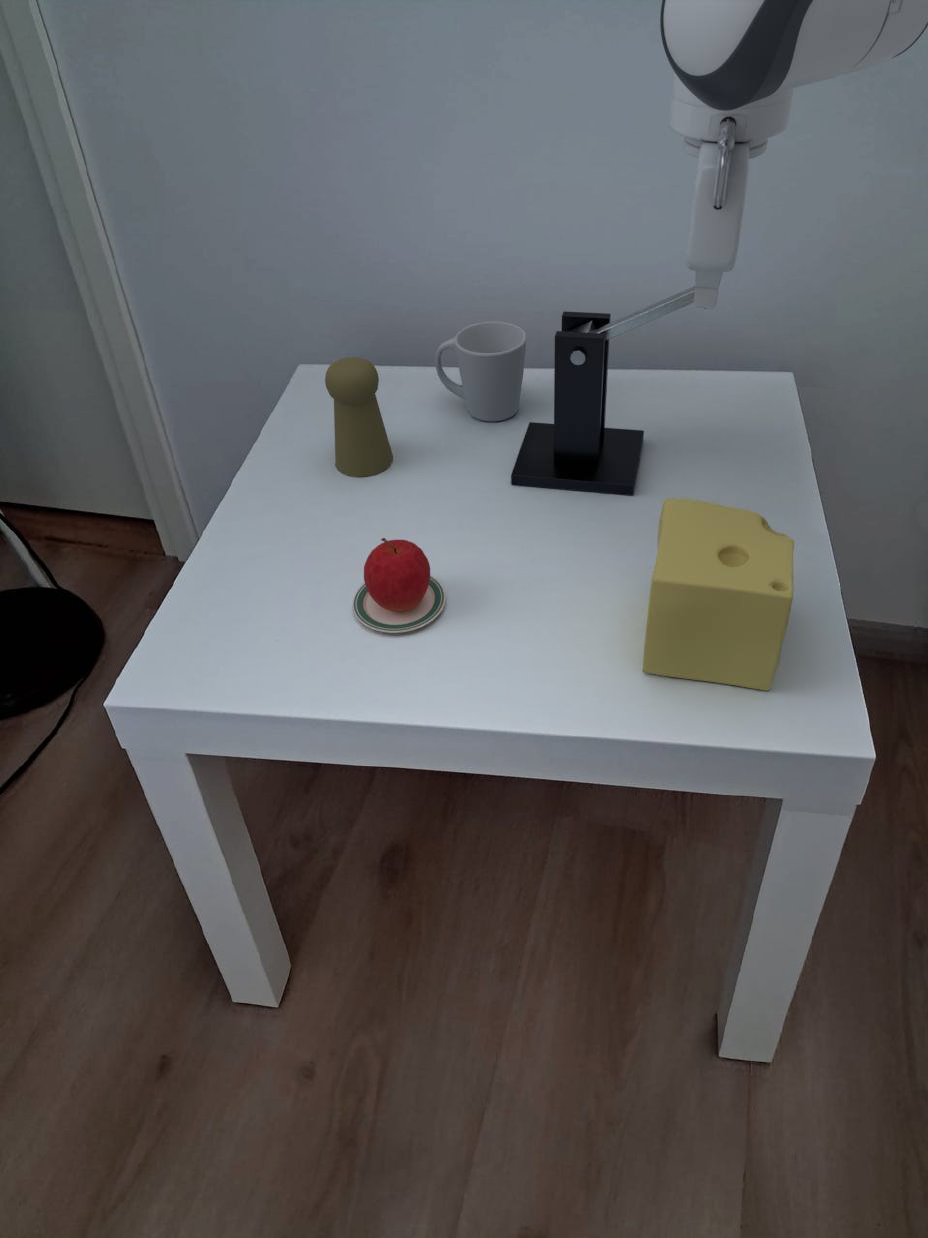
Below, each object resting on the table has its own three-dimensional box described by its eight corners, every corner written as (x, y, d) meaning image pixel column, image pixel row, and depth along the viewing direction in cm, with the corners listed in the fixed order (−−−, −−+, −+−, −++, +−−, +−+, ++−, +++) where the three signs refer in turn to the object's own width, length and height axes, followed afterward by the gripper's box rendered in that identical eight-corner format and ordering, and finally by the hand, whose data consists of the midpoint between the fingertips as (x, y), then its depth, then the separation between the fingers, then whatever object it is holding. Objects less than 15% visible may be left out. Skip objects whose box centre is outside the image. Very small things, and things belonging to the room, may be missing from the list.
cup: (519, 430, 100) (517, 356, 94) (430, 422, 102) (423, 349, 97) (534, 394, 105) (533, 323, 100) (449, 387, 108) (443, 317, 102)
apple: (365, 571, 84) (356, 513, 80) (453, 577, 83) (448, 518, 78) (343, 633, 78) (331, 573, 74) (436, 640, 77) (430, 579, 73)
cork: (333, 449, 99) (316, 353, 92) (389, 441, 100) (377, 345, 93) (337, 480, 95) (320, 383, 88) (396, 472, 96) (384, 374, 88)
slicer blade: (722, 284, 82) (711, 260, 81) (719, 309, 79) (709, 284, 78) (578, 346, 89) (567, 325, 88) (570, 372, 86) (558, 350, 85)
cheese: (778, 606, 78) (801, 508, 71) (773, 700, 70) (798, 601, 64) (652, 589, 80) (662, 493, 73) (634, 678, 73) (644, 580, 66)
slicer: (643, 440, 97) (654, 303, 87) (633, 495, 90) (644, 354, 80) (529, 431, 100) (528, 297, 90) (511, 485, 93) (507, 346, 83)
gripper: (774, 144, 62) (743, 338, 72) (773, 66, 77) (747, 236, 86) (678, 143, 64) (659, 334, 73) (695, 66, 78) (677, 233, 87)
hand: (707, 280), depth 80 cm, fingers open, 8 cm apart
